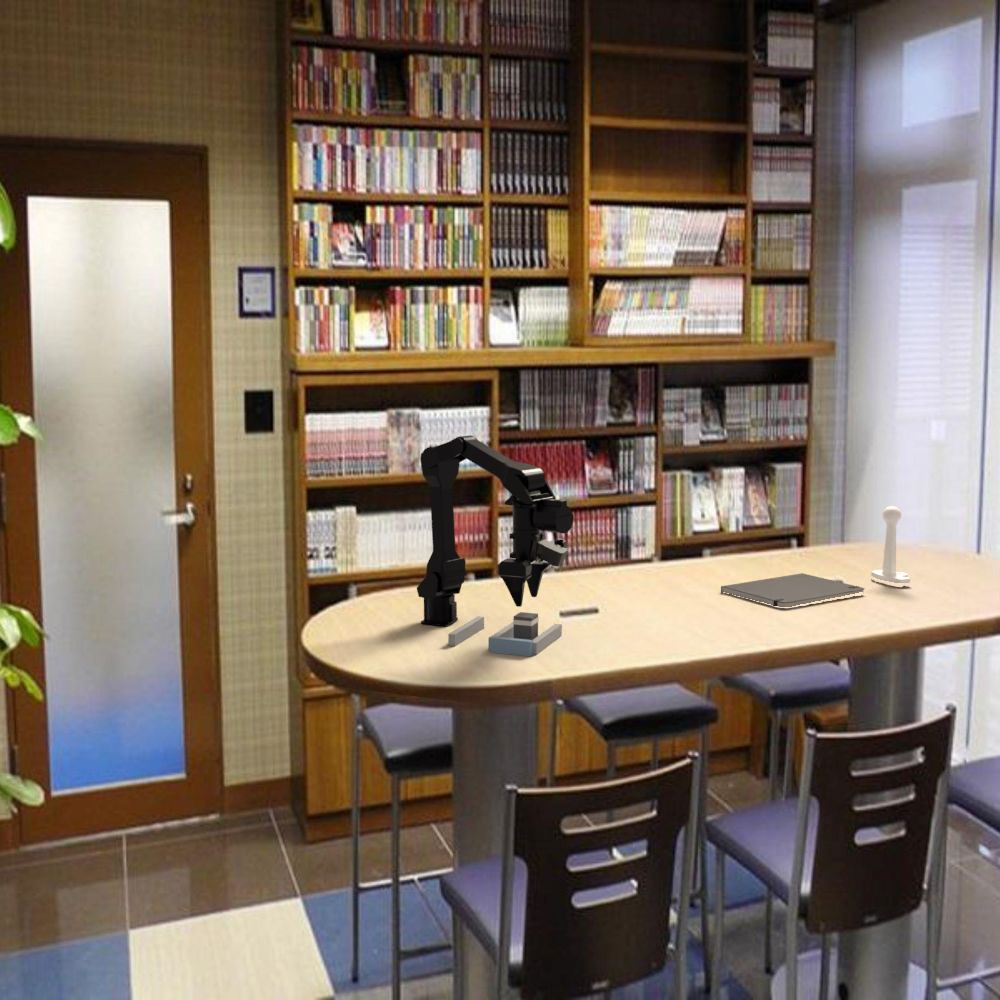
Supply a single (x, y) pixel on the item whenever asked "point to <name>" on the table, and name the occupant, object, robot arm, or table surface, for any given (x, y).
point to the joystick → (890, 550)
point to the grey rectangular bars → (506, 638)
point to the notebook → (791, 590)
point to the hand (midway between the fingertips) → (526, 601)
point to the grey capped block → (525, 626)
